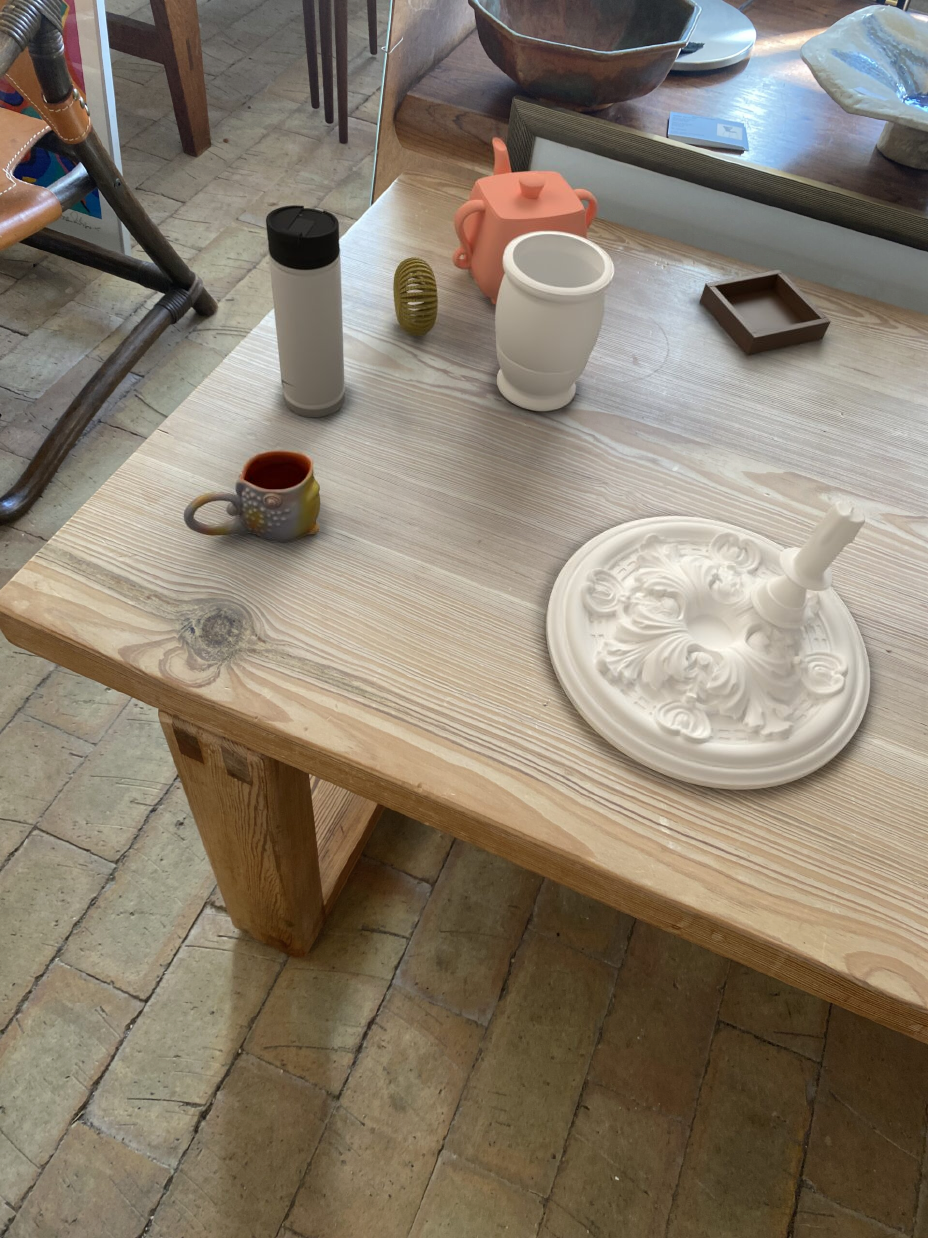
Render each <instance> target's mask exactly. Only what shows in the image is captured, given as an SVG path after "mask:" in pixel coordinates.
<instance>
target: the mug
mask: <svg viewBox="0 0 928 1238" xmlns="http://www.w3.org/2000/svg"><path fill="white" fill-rule="evenodd" d="M314 471H315V470H314V461H313V459H312V458H311V457H310V456H309V455H308V454H305V453H302V452H300V451H293V450H282V449H281V450H280V449H274V450H266V451H263V452H259V453H257V454H255V455H253V456H252V457H250V458H249V459H248V460H247V461H246V462H245V464H244V465H243V467H242V470H241V473H240V474H239V475H238V479H237V480H236V482H235V487H234V491H235V493H236V494H234V493H230V492H226V491H212V492H208V493H204V494H202V495H200V496H198V497H196V498H194V499H193V500H192V501H191V502H189V504H188V505H187V506H186V507H185V508H184V511H183V521H184V524H185V525H186V526H187V528H189V529H190V530H191V531H193V532H195V533H197V534H201V535H205V536H215V537H216V536H220V537H221V536H222V537H223V536H235V535H243V534H244V535H245V534H253V535H255V536H256V537H258V538H259V539H261V540H263V541H268V542H271V543H288V542H293V541H295V540H299V539H301V538H303V537H305V536H307V535H314V534H317V533H318V532H319V531H320V526H319V524H318V523H317V520H318V518H319V516H320V511H321V495H320V492H321V487H320V484H319V483H318V481H317V479H316V478H315V476H314ZM213 502H228V504H227V506H226V509H225V512H226V513H227V515H229V516H230V517H234V518H233V519H231V520H228V521H225V522H220V523H203V522H202V521H199V520H197V519H196V518H195V514H196V512H197V510H198V509H200V508H202V507H203V506H205V505H207V504H209V503H213Z"/></svg>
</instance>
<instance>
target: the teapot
mask: <svg viewBox="0 0 928 1238" xmlns="http://www.w3.org/2000/svg"><path fill="white" fill-rule="evenodd" d="M492 147H493V154H494V168H493V173H492V175H488V176H484V177H481V178H478V179H477V180H476V181H475V182H474V185H473V187H472V189H471V192H470V194H469V198H468V200H467V202H465V203H464V204H462V205H461V206H460V207H459V208H458V209H457V210H456V212H455V215H454V217H453V224H454V225H453V226H454V230H455V233H456V236H457V238H458V241H459V246H460V247H458V248H456V249H455V250H454V252H453V254H452V263H453V265H454V267H456V268H457V269H460V270H468V272H469V273H470V275H471V276H472V279H473V280H474V282H475V283H476V285H477V286H478V288H479V290H480V291H481V292H482V294H483V295H485V297H487V298H490V300H491V303H492V304H493V305H495V306H496V303H497V298H498V293H499V289H500V285H501V282H502V279H503V276H504V274H505V271H504V268H503V255H504V251H505V248H506V247H507V245H508V244H509V243H510V242H511V241H512V240H513V239H515V238H517V237H519V236H521V235H523V234H526V233H530V232H536V231H559V232H566V233H570V234H574V235H577V236H580V237H583V238H585V239H588V240H589V238H588V230H589V229H590V227H591V225H592V224H593V222H594V221H595V219H596V217H597V214H598V209H599V205H598V201H597V198H596V197H595V196H594V194H592V193H591V192H590V191H588V190H587V189H584V188H575V189H573V188H572V187H571V185H570V184H569V183H568V182H567V180H566V179H565V178H564V176H562V174H560V173H559V172H557V171H554V170H532V171H531V170H529V171H515V172H512V168H511V161H510V157H509V152H508V149H507V146H506V144H505V142H504V141H503V140H502V139H501V138H500V137H493V138H492ZM582 201H586V202H588V205H587V208H586V209H585V207H584V204H583V203H582ZM461 256H462V258H461Z"/></svg>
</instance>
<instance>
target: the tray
mask: <svg viewBox="0 0 928 1238" xmlns="http://www.w3.org/2000/svg"><path fill="white" fill-rule="evenodd" d="M699 303H700V304H701V305H702V306H703V307H704V309H705V310H706V312H708V313H709V315H711V317H712V318H713V319H714V320H715V322H716V323H718V325H720V327H721V328H722V329H723V331H724V332H726V334H727V335H728V336H729V337H730V338H731V339H732V340H733V342H734V343H735V344H736V345H737V346H738V347H739V348H740V349H741V351H742V352H743V353H744V354H745V355H746V356H747V357H749V356H753V355H758V354H762V353H767V352H771V351H777V350H781V349H785V348H789V347H794V346H798V345H803V344H807V343H813V342H817V341H821V340H824V337H825V335H826V333H827V330H828V328H829V326H830V324H831V323H832V322H831V320H830V319H829V317H827V316H826V315H825V314H824V313H823V312H822V311H821V309H819V308H818V307H817V306H816V305H815V304H814V303H813V302H812V301H811V300H810V299H809V298H808V297H807V295H805V293H803V292H802V291H801V290H800V288H798V286H796V284H794V283H793V282H792V281H791V280H790V279H789V277H788V276H787V275H786V274H784V273H783V271H782V270H781V269H775V270H769V271H764V272H758V273H754V274H748V275H742V276H737V277H732V278H727V279H721V280H715V281H712V282H705V284H704V287H703V289H702V293H701V296H700V298H699Z"/></svg>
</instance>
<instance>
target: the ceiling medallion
mask: <svg viewBox="0 0 928 1238" xmlns="http://www.w3.org/2000/svg"><path fill="white" fill-rule="evenodd" d="M785 549H786V548H785V547H784V546H782V545H780V544H778V543H777V542H775V541H773V540H771V539H769V538H767V537H765V536H763V535H760V534H758V533H756V532H754V531H751V530H749V529H746V528H743V527H740V526H737V525H735V524H731V523H729V522H723V521H721V520H716V519H709V518H705V517H697V516H686V515H662V516H653V517H652V516H651V517H645V518H640V519H636V520H631V521H628V522H624V523H622V524H619V525H616V526H614V527H612V528H609V529H607V530H605V531H602V532H601V533H598V534H597V535H596V536H595V537H593V538H591V539H590V540H588V541H587V542H585V543H584V544H583V545H582V546H581V547H580V548H578V549H577V550H576V551H575V552H574V553H573V555H572V556H571V557H570V558H569V559H568V561H566V563H565V564H564V566H563V567H562V569H561V571H559V574H558V576H557V577H556V580H555V582H554V583H553V586H552V589H551V593H550V597H549V599H548V604H547V609H546V615H545V637H546V638H545V639H546V645H547V650H548V656H549V658H550V663H551V665H552V668H553V671H554V674H555V676H556V678H557V680H558V683H559V685H560V686H561V688H562V690H563V692H564V693H565V695H566V697H567V698H568V700H569V702H570V703H571V705H572V706H573V707H574V708H575V710H576V711H577V712H578V714H579V715H580V716H581V717H582V718H583V719H584V721H585V722H586V723H587V724H588V725H589V726H590V727H591V728H592V729H593V730H594V731H595V732H596V733H597V734H598V735H599V736H601V737H602V738H603V739H604V740H605V741H606V742H608V743H609V744H610V745H611V746H613V747H614V748H615V749H617V750H618V751H620V752H621V753H623V754H624V755H626V756H627V757H629V758H631V760H633V761H635V762H637V763H638V764H640V765H643V766H645V767H646V768H649V769H650V770H652V771H655V772H657V773H660V774H662V775H664V776H666V777H669V778H673V779H675V780H679V781H681V782H684V783H689V784H692V785H697V786H702V787H706V788H713V789H721V790H722V789H723V790H741V791H742V790H744V791H745V790H758V789H767V788H772V787H777V786H781V785H785V784H789V783H791V782H794V781H797V780H800V779H802V778H804V777H806V776H808V775H810V774H812V773H814V772H816V771H817V770H819V769H821V768H822V767H823V766H825V765H826V764H828V763H829V762H830V761H832V760H833V759H834V758H835V757H836V756H837V755H838V754H839V753H840V752H841V751H842V750H843V749H844V748H845V747H846V745H847V744H848V743H849V742H850V741H851V739H852V738H853V736H854V735H855V734H856V732H857V730H858V729H859V726H860V725H861V722H862V721H863V718H864V716H865V713H866V711H867V707H868V702H869V698H870V690H871V671H870V670H871V668H870V662H869V655H868V652H867V648H866V645H865V641H864V639H863V635H862V634H861V631H860V629H859V626H858V624H857V622H856V620H855V619H854V616H853V615H852V613H851V612H850V610H849V608H848V606H847V605H846V603H844V601H843V600H842V598H841V597H840V595H839V594H838V593H837V592H836V591H835V589H833V587H832V585H831V586H830V587H829V588H828V589H826V590H823V591H813V590H808V589H807V590H806V595H807V598H808V604H807V609H808V619H807V621H806V623H805V624H804V625H802V626H801V627H798V628H794V629H787V628H781V627H778V626H776V625H773V624H771V623H770V622H768V621H766V620H765V619H764V618H763V617H761V616H760V615H759V614H758V613H757V611H756V610H755V609H754V607H753V605H752V603H751V600H750V589H751V587H752V586H753V585H754V584H755V583H756V582H758V581H761V580H769V579H770V578H772V577H777V576H780V577H781V576H784V575H786V574H785V573H784V572H783V570H782V568H781V566H780V562H779V558H780V554H781V553H782V552H783V551H784V550H785Z"/></svg>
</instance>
